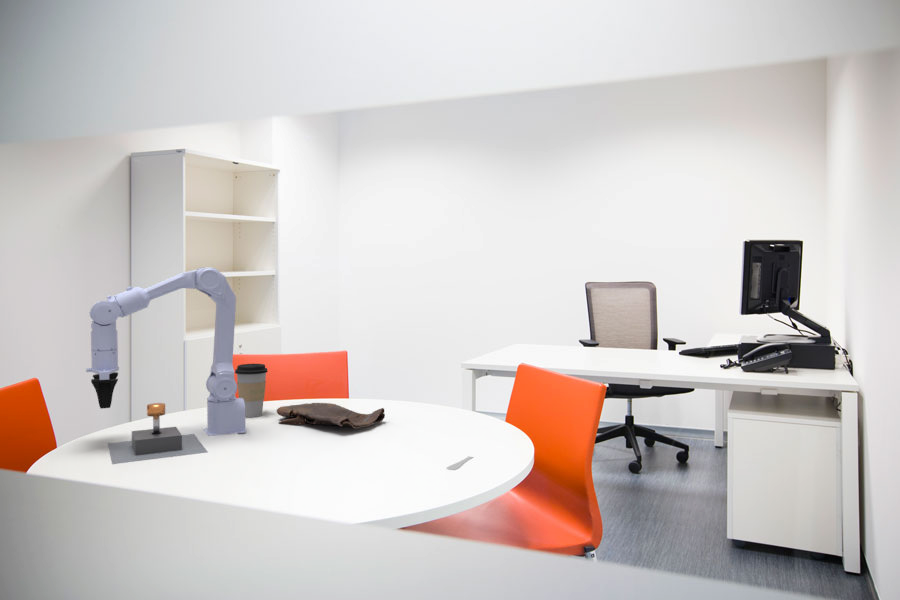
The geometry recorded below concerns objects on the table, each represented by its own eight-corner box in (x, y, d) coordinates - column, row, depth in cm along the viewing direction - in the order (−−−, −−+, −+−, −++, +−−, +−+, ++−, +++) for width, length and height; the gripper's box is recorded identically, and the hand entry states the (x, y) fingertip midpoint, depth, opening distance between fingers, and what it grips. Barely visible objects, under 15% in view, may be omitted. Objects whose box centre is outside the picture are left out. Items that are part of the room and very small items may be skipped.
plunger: (164, 431, 160) (164, 402, 160) (166, 434, 156) (166, 405, 156) (146, 433, 158) (146, 403, 158) (148, 436, 154) (147, 406, 154)
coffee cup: (258, 419, 190) (258, 368, 190) (228, 417, 192) (228, 367, 192) (273, 412, 200) (273, 363, 199) (245, 411, 202) (244, 362, 201)
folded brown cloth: (264, 422, 188) (264, 405, 188) (317, 410, 205) (317, 394, 204) (342, 439, 170) (342, 420, 170) (393, 425, 186) (393, 407, 186)
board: (194, 435, 171) (194, 433, 171) (207, 454, 154) (207, 452, 154) (107, 445, 161) (107, 443, 161) (112, 466, 144) (112, 464, 144)
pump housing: (176, 440, 164) (176, 426, 164) (182, 449, 155) (181, 435, 155) (131, 445, 159) (131, 431, 159) (135, 455, 150) (135, 440, 150)
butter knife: (443, 468, 143) (455, 470, 142) (486, 443, 165) (497, 444, 163) (443, 470, 143) (455, 472, 142) (486, 445, 165) (497, 446, 163)
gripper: (87, 347, 164) (88, 401, 165) (84, 353, 151) (85, 412, 152) (118, 346, 168) (119, 398, 168) (118, 352, 155) (119, 409, 155)
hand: (105, 405), depth 160 cm, fingers open, 7 cm apart
